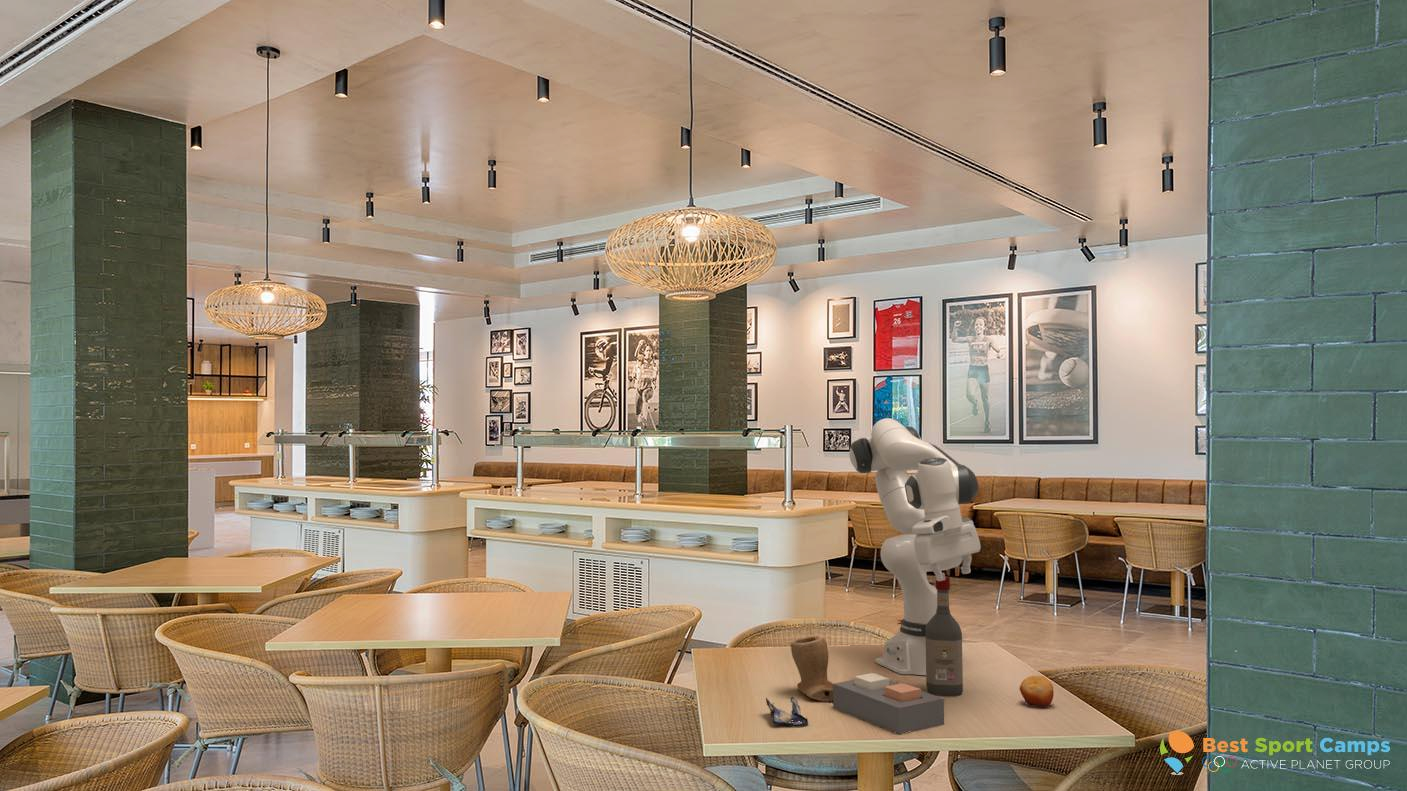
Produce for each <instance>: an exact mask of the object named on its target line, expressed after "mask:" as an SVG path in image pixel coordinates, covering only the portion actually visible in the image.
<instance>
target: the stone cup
mask: <svg viewBox="0 0 1407 791" xmlns="http://www.w3.org/2000/svg"><path fill="white" fill-rule="evenodd" d="M790 648H791V649H790V650H791V656H792V659H793V661H794V663H795V665H796V668H797V670H798V674H799V675H800V676H799V677H800V682H798V683H797V689H798V690H799V691H800V692H802V693H803V694H804V695H805V696H807V697H809V698H810V699H813V700H817V701H819V702H820V701H821V702H833V684H834V683H833V682H832V681H829V679H828V666H829V650H828V649H829V648H828V642H827V640H826V639H825V638H824V637H823V636H821V637H820V636H818V635H811V636H806V637H800V638H796V639H794V640H792V641H791V643H790Z"/></svg>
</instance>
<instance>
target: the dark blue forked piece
mask: <svg viewBox="0 0 1407 791" xmlns="http://www.w3.org/2000/svg"><path fill="white" fill-rule="evenodd" d="M786 698H787V699H788V698H789V697H786ZM782 699H783V697H782ZM765 701H766V705H767V707H768V709H769V710H770V716H771V721H772V723H773V724H774V726H776V725H780V724H787V725H788V726H789V727H790V726H801V727H805V726H804V725H808V726H809V722H808V717H804V716H803V715H802V714H801V706H800V705H799V702H798V701H797V699H796V698H795V697H794V696H792V697H790V703H792V704H791V705H792V707H791V712H790V713H788V712H785V711H784V710H782V709H781V708H779V709H778V708H777V707H776V706H775V703H774V702H771V701H770V700H769V699H768V698H767V697H765ZM784 713H785V714H784ZM783 715H788V718H789V717H790V720H789V721H790V722H791V723H789V721H787V722H786V721H783V720H782V717H783ZM781 716H782V717H781ZM780 718H781V719H780ZM781 720H782V721H781ZM791 720H793V721H791ZM798 721H800V722H802V723H796V722H798ZM792 722H794V723H792Z"/></svg>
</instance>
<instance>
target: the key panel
mask: <svg viewBox="0 0 1407 791" xmlns="http://www.w3.org/2000/svg"><path fill="white" fill-rule="evenodd" d="M896 684H900V683H899V682H896V681H895V682H894V680H892V681H891V679H889V686H891V685H896ZM832 702H833V703H832V704H833V705H832V706H833V707H832V708H833V709H836V710H838V711H840V712H843V713H845V714H847V715H850V716H852V717H855V718H857V719H860V720H863V721H865V722H867V723H870V724H873V725H875V726H877V727H880V728H883V729H884V730H887V731H889V730H890V732H893V733H894V732H896V733H895V734H897V733H898V735H899V734H900V735H903V734H902V733H904V734H907V733H906V732H908V733H910V732H909V731H913V732H917V731H920V730H921V731H922V730H925V729H929V728H934V727H939V726H943V725H945V700H944V698H943V697H940V696H939V695H933V694H930V693H928V692H926V691H922V690H921V698H920V699H915V700H911V701H906V702H899V701H896V700H894V699H891V698H888V697H885V696H884V689H878V690H873V691H869V690H866V689H863V688H860V687H858V686H855V679H850V680H845V681H841V682H839V681H838V682H835V683H833V701H832ZM916 730H917V731H916Z"/></svg>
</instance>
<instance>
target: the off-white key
mask: <svg viewBox="0 0 1407 791" xmlns="http://www.w3.org/2000/svg"><path fill="white" fill-rule="evenodd" d="M854 680H855V686H858V687H860V688H863V689H866V690H869V691H873V690H878V689H884V687H886V686H889V680H890V677H886V676H882V675H880V674H877V673H874V672H872V673H866V674H861V675H855V676H854Z"/></svg>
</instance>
